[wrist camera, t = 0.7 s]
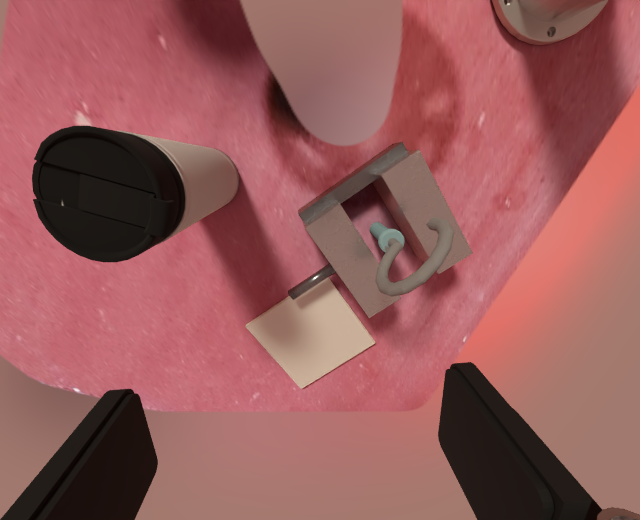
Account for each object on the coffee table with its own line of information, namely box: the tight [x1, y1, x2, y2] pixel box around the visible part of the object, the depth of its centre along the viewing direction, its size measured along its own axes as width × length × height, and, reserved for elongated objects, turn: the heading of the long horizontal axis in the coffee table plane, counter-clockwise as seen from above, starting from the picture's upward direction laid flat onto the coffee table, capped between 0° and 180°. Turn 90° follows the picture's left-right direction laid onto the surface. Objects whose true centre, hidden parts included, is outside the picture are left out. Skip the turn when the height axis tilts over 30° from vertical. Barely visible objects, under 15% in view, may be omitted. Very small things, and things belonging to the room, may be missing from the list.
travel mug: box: [32, 126, 239, 262], centre depth 23 cm, size 6×7×20 cm
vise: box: [288, 142, 473, 318], centre depth 33 cm, size 19×13×6 cm
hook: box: [370, 217, 454, 297], centre depth 28 cm, size 8×2×15 cm, turn 140°
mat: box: [246, 277, 375, 389], centre depth 38 cm, size 12×12×1 cm
